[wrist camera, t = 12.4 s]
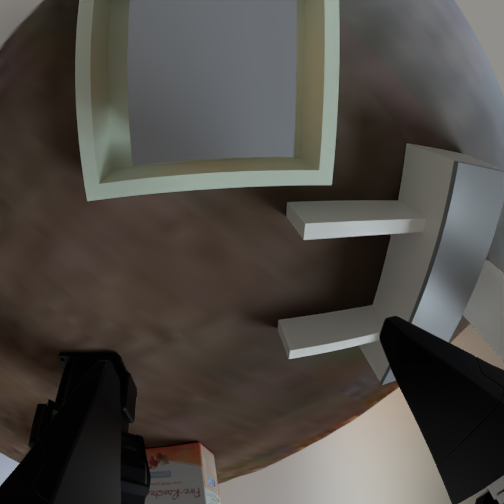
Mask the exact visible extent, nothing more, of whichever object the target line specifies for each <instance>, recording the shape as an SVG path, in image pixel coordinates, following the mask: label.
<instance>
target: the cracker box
mask: <svg viewBox="0 0 504 504" xmlns="http://www.w3.org/2000/svg"><path fill="white" fill-rule="evenodd" d="M145 450H146V455H147V460H148V465H149V469H150V475H151V482H150V489H149V492H148V495H147V496H146V498H145V504H221V502H220V496H219V489H218V482H217V475H216V468H215V461H214V455H213V453H211V452H210V451H209V450H208V449H207V448H205V447H204V446H203V445H202V444H201V443H200V442H195V443H189V444H183V445H176V446H169V447H160V448H151V449H145Z"/></svg>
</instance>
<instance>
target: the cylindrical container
mask: <svg viewBox="0 0 504 504" xmlns="http://www.w3.org/2000/svg"><path fill="white" fill-rule="evenodd" d="M463 316H464V317H465V318H466V319H467V320H468V321H469V322H470V323H471V324H472V326H473V327H474V328H475V329H476V330H477V331H478V332H479V333H480V335H481V336H482V337H483V338H484V339H485V340H486V341H487V342H488V343H489V344H490V346H491V347H492V348H493V349H494V351H496V353H497V354H498V355H499V356H500V358H501V359H502V360H503V361H504V273H503V272H501V271H500V270H499V269H498V268H497V267H495V266H494V265H493V264H492V263H490V262H489V261H488V260H485V263H484V265H483V268H482V271H481V273H480V276H479V278H478V281H477V283H476V286H475V288H474V290H473V293H472V295H471V297H470V299H469V302H468V304H467V306H466V308H465V310H464V312H463Z"/></svg>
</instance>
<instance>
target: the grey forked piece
mask: <svg viewBox="0 0 504 504" xmlns="http://www.w3.org/2000/svg"><path fill="white" fill-rule="evenodd" d="M503 201H504V170H501V169H499V168H497V167H495V166H492V165H490V164H488V163H485V162H483V161H480V160H478V159H475V158H473V157H470V156H468V155H465V154H462V153H458V152H453V151H448V150H443V149H438V148H432V147H427V146H421V145H415V144H409V143H406V151H405V159H404V166H403V173H402V180H401V186H400V192H399V197H398V200H347V201H302V202H287V210H286V217H287V218H288V219H289V221H290V222H291V224H292V225H293V226H294V228H295V229H296V230H297V232H298V233H299V234H300V236H301V237H302V239H303V240H311V239H325V238H340V237H354V236H369V235H384V234H391V237H390V241H389V246H388V250H387V254H386V258H385V262H384V266H383V270H382V274H381V277H380V281H379V285H378V288H377V292H376V295H375V298H374V302H373V305H369V306H363V307H358V308H352V309H346V310H341V311H335V312H328V313H322V314H316V315H309V316H302V317H295V318H288V319H281V320H278V331H279V334H280V337H281V339H282V342H283V345H284V348H285V350H286V353H287V356H288V359H293V358H299V357H304V356H310V355H315V354H320V353H325V352H330V351H335V350H340V349H345V348H349V347H353V346H358V345H359V347H360V349H361V350H362V352H363V354H364V355H365V357H366V359H367V360H368V362H369V364H370V365H371V367H372V369H373V371H374V372H375V374H376V376H377V378H378V379H379V381H380V383H381V384H382V385H384V384H387V383H390V382H393V381H395V380H396V379H395V377H394V375H393V373H392V370H391V368H390V365H389V363H388V360H387V358H386V355H385V353H384V350H383V348H382V345H381V343H380V339H379V335H380V332H381V329H382V326H383V323H384V320H385V319H386V318H387V317H391V316H398V317H400V318H402V319H404V320H406V321H408V322H410V323H412V324H414V325H416V326H418V327H420V328H421V329H423V330H425V331H427V332H429V333H431V334H433V335H435V336H437V337H439V338H441V339H443V340H445V341H447V342H449V340H450V338H451V336H452V334H453V332H454V331H455V329H456V327H457V325H458V323H459V321H460V319H461V317H462V315H463V312H464V310H465V308H466V306H467V304H468V302H469V299H470V297H471V295H472V293H473V290H474V288H475V286H476V283H477V281H478V278H479V276H480V273H481V271H482V268H483V265H484V263H485V260H486V257H487V254H488V252H489V249H490V246H491V243H492V240H493V236H494V233H495V230H496V227H497V223H498V220H499V216H500V212H501V209H502V205H503Z"/></svg>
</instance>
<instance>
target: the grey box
mask: <svg viewBox="0 0 504 504" xmlns="http://www.w3.org/2000/svg"><path fill="white" fill-rule="evenodd" d="M296 63H297V0H130V7H129V23H128V52H127V81H128V112H129V129H130V143H131V155H132V165H133V166H136V165H145V164H154V163H165V162H176V161H188V160H203V159H221V158H246V157H294V135H295V106H296Z"/></svg>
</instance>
